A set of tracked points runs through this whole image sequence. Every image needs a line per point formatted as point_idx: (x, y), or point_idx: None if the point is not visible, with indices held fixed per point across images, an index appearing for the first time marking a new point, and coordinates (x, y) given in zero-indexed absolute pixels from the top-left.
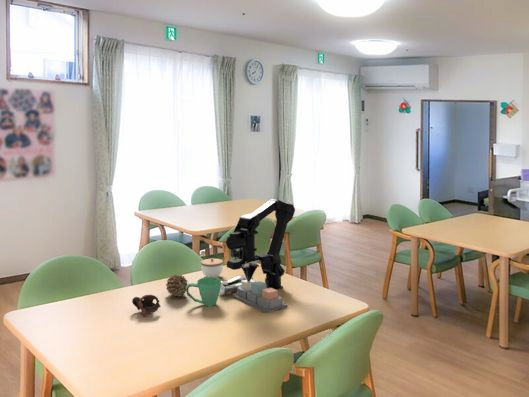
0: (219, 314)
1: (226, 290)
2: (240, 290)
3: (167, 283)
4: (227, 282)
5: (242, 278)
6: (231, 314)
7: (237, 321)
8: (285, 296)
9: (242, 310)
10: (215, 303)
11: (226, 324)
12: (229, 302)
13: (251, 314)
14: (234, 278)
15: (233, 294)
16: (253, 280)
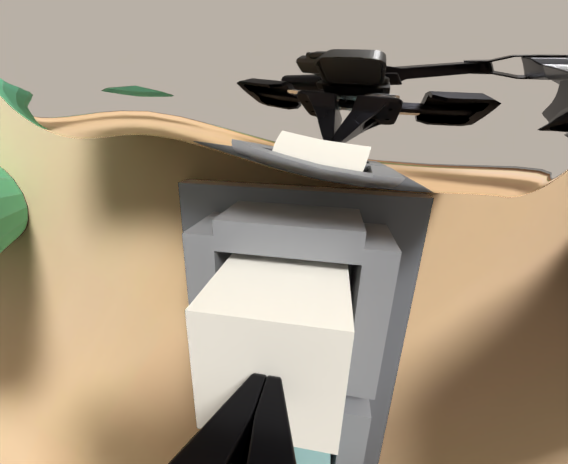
0: (11, 360)
1: (111, 136)
2: (193, 290)
3: None
4: (78, 77)
5: (340, 132)
6: (65, 398)
7: (63, 459)
8: (516, 442)
9: (134, 402)
10: (8, 244)
11: (14, 448)
12: (119, 263)
13: (149, 457)
14: (210, 32)
15: (187, 188)
16: (337, 415)
